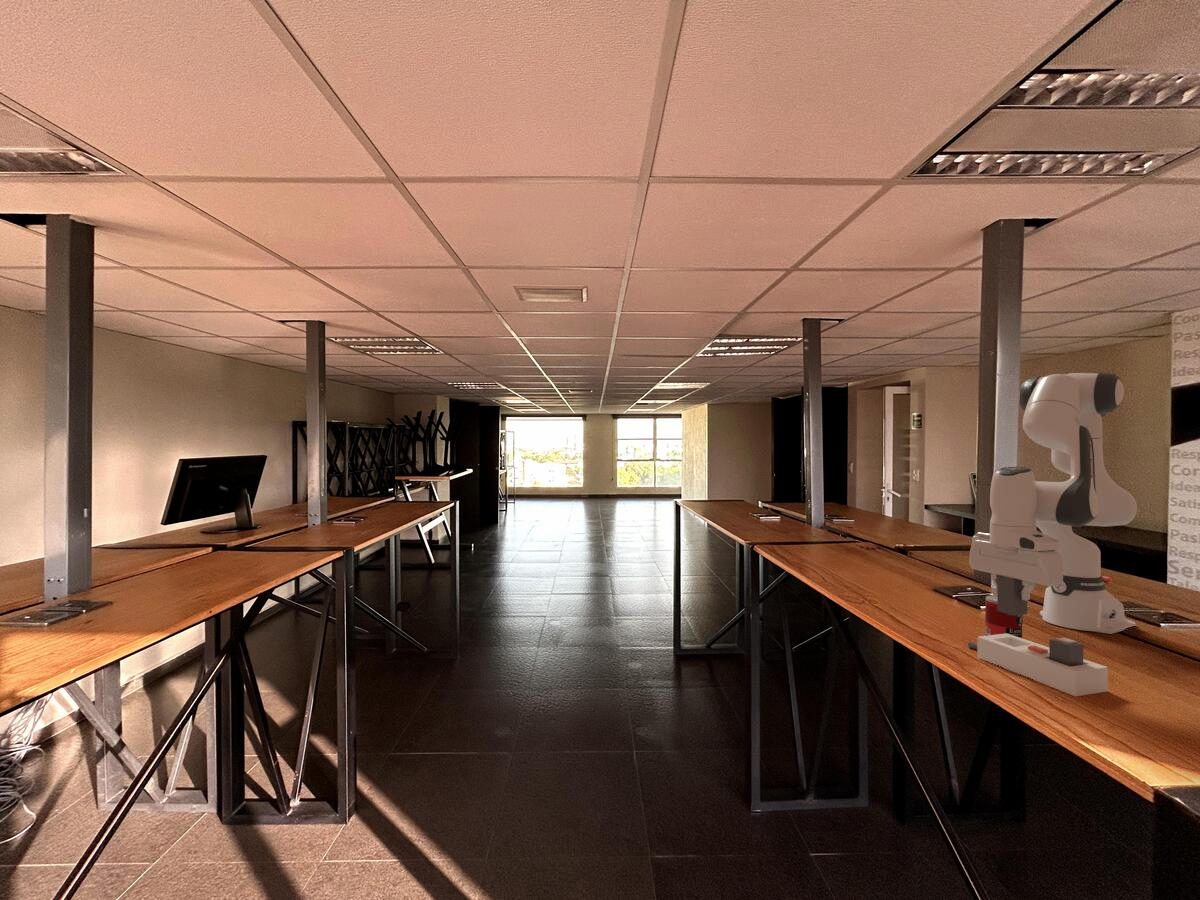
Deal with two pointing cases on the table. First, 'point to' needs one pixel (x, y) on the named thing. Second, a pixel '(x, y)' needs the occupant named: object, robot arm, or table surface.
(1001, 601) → the plug
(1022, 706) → the table surface
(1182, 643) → the table surface
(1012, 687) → the table surface
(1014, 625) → the canned food
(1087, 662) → the pdu strip
